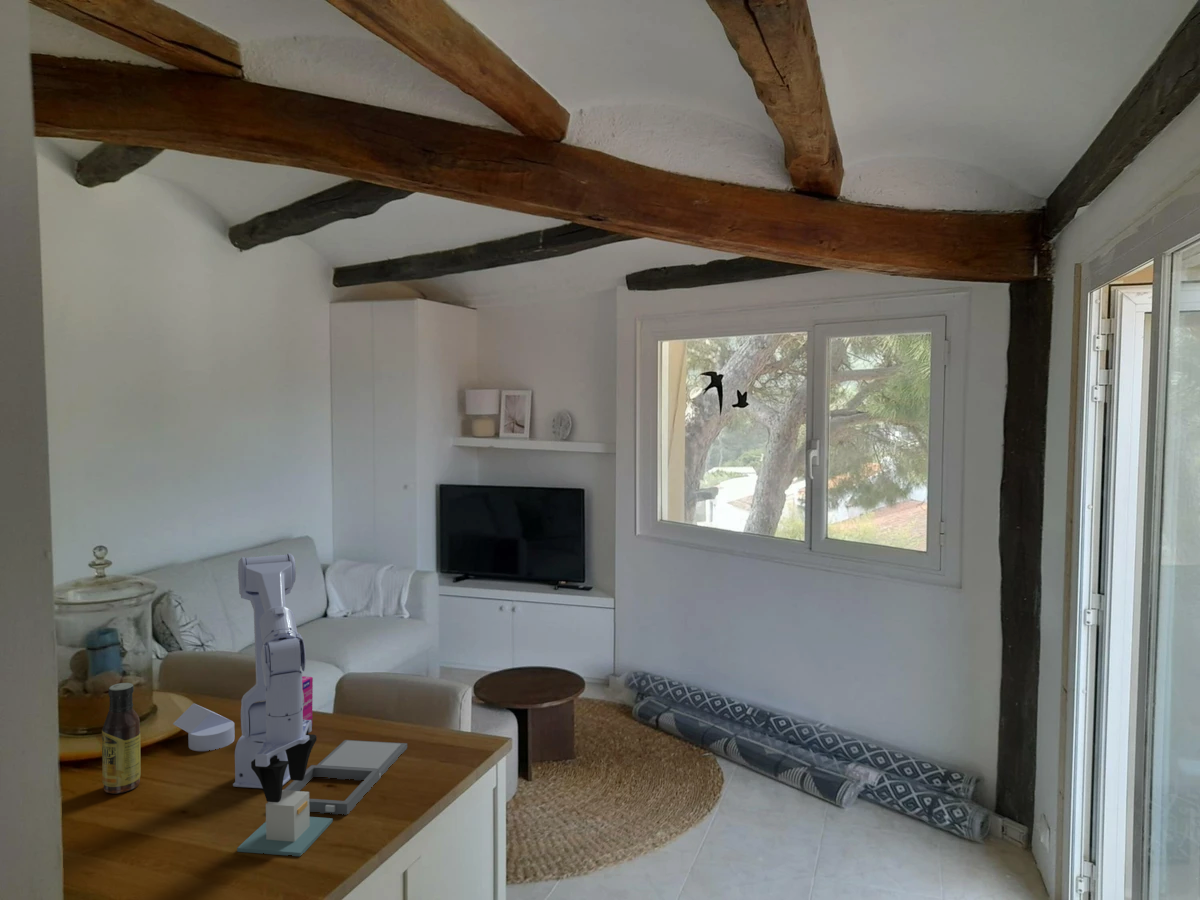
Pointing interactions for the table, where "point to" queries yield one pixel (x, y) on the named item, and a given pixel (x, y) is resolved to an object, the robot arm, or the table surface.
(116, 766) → the sauce bottle
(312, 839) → the mat
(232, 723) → the wedge on round base
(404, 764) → the table surface
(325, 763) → the case
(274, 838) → the block
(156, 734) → the table surface
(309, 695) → the supplement box
